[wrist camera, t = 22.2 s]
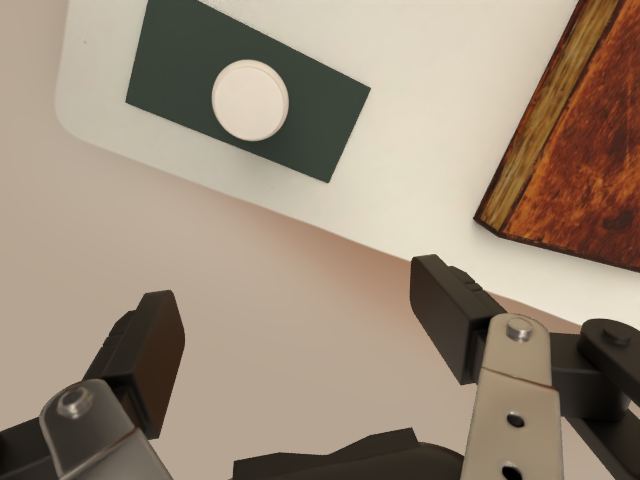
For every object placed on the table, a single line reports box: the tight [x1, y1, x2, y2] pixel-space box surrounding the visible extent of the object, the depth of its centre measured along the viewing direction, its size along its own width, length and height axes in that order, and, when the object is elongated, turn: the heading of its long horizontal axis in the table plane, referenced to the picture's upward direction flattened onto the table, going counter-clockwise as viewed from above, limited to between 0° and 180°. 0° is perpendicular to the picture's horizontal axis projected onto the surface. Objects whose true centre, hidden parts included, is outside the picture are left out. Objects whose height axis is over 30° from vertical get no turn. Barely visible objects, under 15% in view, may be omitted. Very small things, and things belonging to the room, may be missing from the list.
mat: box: [125, 0, 371, 183], centre depth 33 cm, size 20×10×1 cm, turn 66°
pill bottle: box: [212, 60, 289, 141], centre depth 28 cm, size 6×6×10 cm
